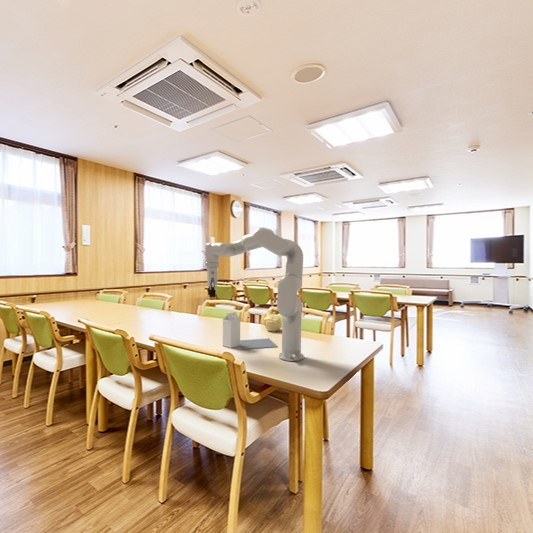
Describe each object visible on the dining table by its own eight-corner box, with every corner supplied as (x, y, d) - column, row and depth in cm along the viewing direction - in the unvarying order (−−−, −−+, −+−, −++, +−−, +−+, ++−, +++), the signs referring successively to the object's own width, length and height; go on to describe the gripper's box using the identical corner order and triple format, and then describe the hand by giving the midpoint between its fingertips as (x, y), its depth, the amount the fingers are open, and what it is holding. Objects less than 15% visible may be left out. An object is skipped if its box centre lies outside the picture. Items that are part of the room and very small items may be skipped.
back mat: (277, 347, 173) (277, 346, 173) (243, 349, 167) (243, 348, 167) (268, 339, 190) (268, 338, 190) (237, 341, 185) (237, 340, 185)
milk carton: (222, 345, 174) (222, 312, 174) (232, 343, 180) (232, 311, 179) (230, 348, 170) (230, 314, 169) (240, 345, 175) (240, 312, 174)
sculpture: (261, 331, 210) (261, 315, 210) (269, 328, 221) (269, 313, 220) (276, 333, 205) (276, 317, 205) (284, 329, 215) (284, 314, 215)
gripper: (220, 265, 163) (220, 297, 163) (217, 265, 180) (216, 294, 180) (206, 265, 161) (205, 298, 162) (204, 264, 178) (203, 294, 178)
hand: (211, 295), depth 171 cm, fingers open, 9 cm apart
